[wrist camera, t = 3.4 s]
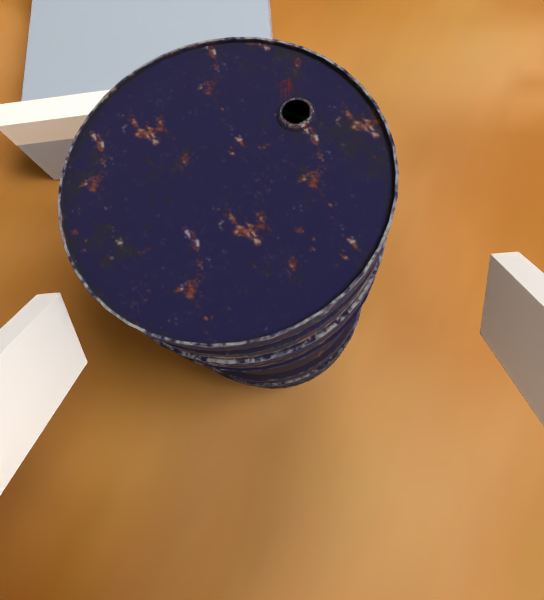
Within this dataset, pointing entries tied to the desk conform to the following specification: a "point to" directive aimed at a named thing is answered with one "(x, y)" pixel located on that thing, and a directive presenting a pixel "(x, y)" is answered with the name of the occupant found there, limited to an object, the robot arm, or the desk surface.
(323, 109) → the rusty blue oil drum
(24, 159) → the desk surface
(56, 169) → the tray
